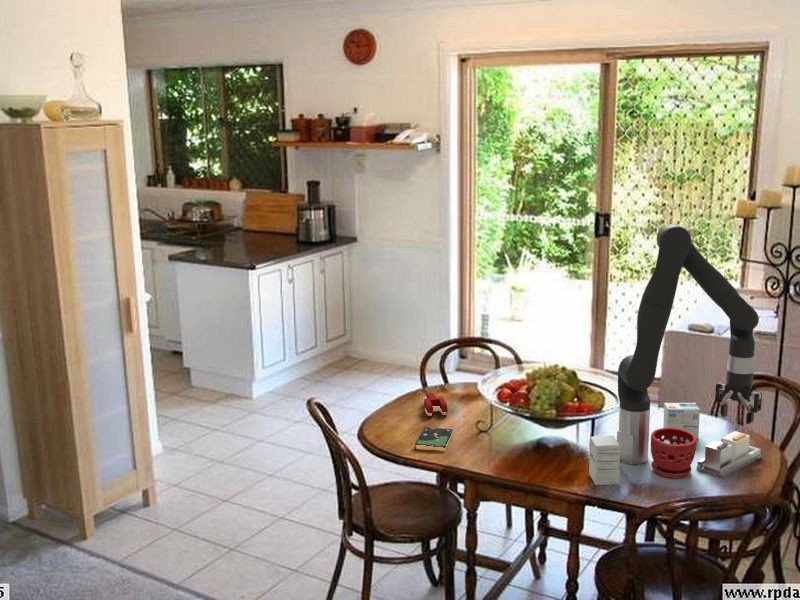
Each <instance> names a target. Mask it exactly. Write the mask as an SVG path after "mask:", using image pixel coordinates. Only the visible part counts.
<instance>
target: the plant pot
mask: <svg viewBox="0 0 800 600" xmlns="http://www.w3.org/2000/svg"><path fill="white" fill-rule="evenodd" d="M673 436H676V437H677V439H673ZM681 438H683V439H681ZM687 440H688V441H689V443H687ZM697 440H698V439H696V437H695V436H694V435H693V434H692V433H690V432H688V431H685V430H682V429H676V428H663V427H661V428H658V429H655V430H653V431H652V432H651V435H650V454H651V457H652V461H651V463H650V464H651V469H652V470H653V471H654V472H655V473H657V474H658V475H660V476H663V477H666V478H671V479H672V478H673V479H677V478H685V477H686V476H688V475H689V474H691V472H692V466H691V465H692V463H693V461H694V459H695V455H696V450H697ZM665 441H669V442H668V443H667V442H665ZM674 443H675V444H674Z"/></svg>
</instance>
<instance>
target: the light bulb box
mask: <svg viewBox="0 0 800 600" xmlns="http://www.w3.org/2000/svg"><path fill="white" fill-rule="evenodd" d="M700 412H701V408H699V406H698V405H697V403H696V402H664V403H663V427H662V428H676V429H682V430H685V431H688V432H690V433H692V434H693V435H694V436H695V437H696V439H697V440H699V439H700V437H699V435H700V432H699V431H700ZM673 439H674V440H676V439H677V437H676V436H673ZM681 440H683V438H681Z"/></svg>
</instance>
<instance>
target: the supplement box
mask: <svg viewBox="0 0 800 600" xmlns="http://www.w3.org/2000/svg"><path fill="white" fill-rule="evenodd" d="M588 462H589V464H588V465H589V468H588V474H589V476H590V478H591V479H592V480H591V481H593V484H594V486H595V485H596V486H600V485H601V486H602V485H603V486H604V485H605V486H606V485H619V484H620V445H619V443H618V442H617V438H616V437H615V436H614V435H599V436H598V435H597V436H594V435H593V436H590V437H589V461H588Z"/></svg>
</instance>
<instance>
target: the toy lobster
mask: <svg viewBox="0 0 800 600" xmlns="http://www.w3.org/2000/svg"><path fill="white" fill-rule="evenodd" d="M426 397H427V399H426V398H424V399H423V407H424V406H425V408H426V410H427V412H428V413H433V414H434V412H433V407H432V406H440V408H441V409H442V412H447V413H448V404H447V401H446V400H445V399H444V397H442V396H441V397H437V395H436V394H435V393H434V392H426Z"/></svg>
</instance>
